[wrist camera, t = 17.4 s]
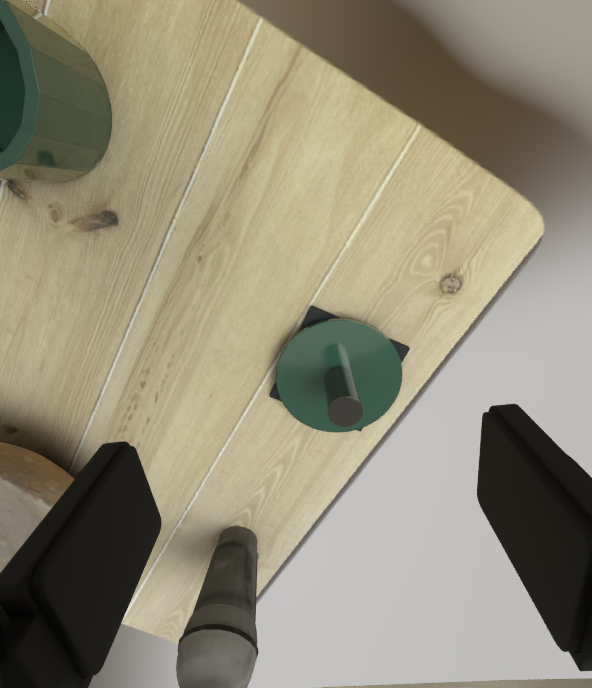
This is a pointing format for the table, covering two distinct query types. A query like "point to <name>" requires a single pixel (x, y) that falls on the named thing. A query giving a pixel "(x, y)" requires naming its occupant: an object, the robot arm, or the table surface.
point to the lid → (339, 375)
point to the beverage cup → (223, 618)
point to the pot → (48, 100)
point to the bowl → (25, 495)
